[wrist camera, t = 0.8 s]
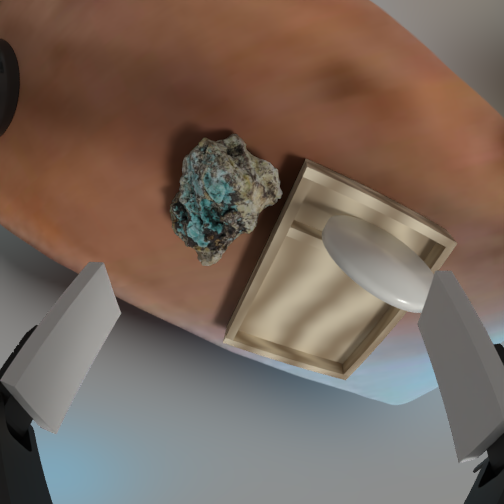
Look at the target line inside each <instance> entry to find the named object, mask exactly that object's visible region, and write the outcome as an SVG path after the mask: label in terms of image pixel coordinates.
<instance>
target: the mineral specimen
mask: <svg viewBox="0 0 504 504" xmlns="http://www.w3.org/2000/svg"><path fill="white" fill-rule="evenodd" d="M182 174H183V175H182V177H181V178H180V188H179V190H180V191H179V192H178V193H177V194H176V196H175V198H174V199H173V200H172V203H171V205H170V212H171V220H172V228H173V230H174V233H175V234H176V235H178V236H179V237H180V238H181V239H182V240H183V241H184V242H185V245H186V246H187V247H188V246H189V247H192V248H194V249H195V250H196V252H197V254H198V260H199V261H201V263H202V265H205V266H211V265H212V264H215V263H216V262H218V261H219V260H220V259H221V258H222V254H223V253H224V252H225V251H226V249H227V247H228V246H229V245H230V244H231V243H232V242H233V241H234V240H235V239H236V238H237V237H238V236H239V235H240V234H242V233H248V234H249V233H250V232H252V231H253V229H254V228H255V227H256V226H257V219H258V215H259V213H260V212H261V211H262V210H263V209H265V208H266V207H268V206H269V205H270V206H272V205H274V204H275V203H277V200H278V199H280V198H281V195H282V194H283V192H282V191H281V189H280V180H279V176H278V169H276V168H274V167H273V166H272V164H271V163H269V162H267V161H265V160H262V159H259V158H257V157H255V156H253V155H252V154H250V153H249V152H248V151H247V150H246V144H245V143H244V141H243V140H242V139H241V138H240V137H239V136H238V135H237V134H232V135H230V136H229V137H228V138H226V139H224V140H218V141H216V142H215V141H211V140H209V139H208V138H203V139H202V140H201V141H200V142H199V144H198V145H197V146H196V147H195V148H194V149H193V150H192V151H191V152H190V153H189V154H188V155H186V156H185V158H184V160H183V166H182Z"/></svg>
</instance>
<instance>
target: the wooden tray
mask: <svg viewBox="0 0 504 504" xmlns="http://www.w3.org/2000/svg"><path fill="white" fill-rule="evenodd" d="M335 215H347V216H352V217H356V218H359V219H362V220H365V221H367V222H369V223H372V224H374V225H376V226H378V227H380V228H382V229H383V230H385V231H387V232H388V233H390V234H392V235H393V236H395V237H396V238H397V239H399V240H400V241H402V242H403V243H404V244H405V245H407V246H408V247H409V248H410V249H411V250H413V251H414V252H415V253H416V254H417V255H418V256H419V257H420V258H421V259H422V260H423V261H424V262H425V264H426V265H427V266H428V267H429V268H430V270H431V271H432V273H433V274H434V273H435V271H438V270H439V269H440V267H441V266H442V265H443V263H444V262H445V260H446V259H447V257H448V256H449V255H450V253H451V252H452V250H453V249H454V247H455V246H456V244H457V242H456V241H455V240H454V239H453V237H452V236H451V235H450V234H449V232H448V231H447V230H446V229H444V228H442V227H440V226H439V225H437V224H435V223H434V222H432V221H430V220H428V219H426V218H425V217H423V216H421V215H419V214H418V213H416V212H414V211H412V210H410V209H408V208H407V207H405V206H403V205H401V204H399V203H397V202H395V201H393V200H392V199H390V198H388V197H386V196H384V195H382V194H380V193H378V192H376V191H374V190H372V189H370V188H368V187H366V186H364V185H362V184H360V183H358V182H356V181H354V180H352V179H350V178H347V177H345V176H343V175H341V174H339V173H337V172H335V171H333V170H330V169H328V168H326V167H324V166H322V165H319V164H317V163H315V162H313V161H310V160H308V159H305V161H304V164H303V166H302V168H301V170H300V172H299V174H298V177H297V179H296V181H295V183H294V185H293V187H292V189H291V192H290V194H289V196H288V198H287V200H286V202H285V205H284V207H283V209H282V211H281V213H280V215H279V217H278V220H277V222H276V224H275V226H274V228H273V230H272V232H271V234H270V237H269V239H268V241H267V243H266V245H265V247H264V249H263V251H262V254H261V256H260V258H259V260H258V262H257V264H256V266H255V268H254V271H253V273H252V275H251V277H250V279H249V281H248V283H247V285H246V288H245V290H244V292H243V294H242V296H241V298H240V300H239V302H238V304H237V306H236V309H235V311H234V313H233V315H232V317H231V319H230V321H229V323H228V325H227V328H226V332H225V336H224V340H223V343H226V344H229V345H232V346H234V347H237V348H240V349H243V350H246V351H249V352H252V353H255V354H258V355H261V356H264V357H268V358H271V359H274V360H277V361H280V362H284V363H287V364H290V365H294V366H297V367H300V368H304V369H307V370H311V371H314V372H318V373H321V374H325V375H329V376H332V377H336V378H340V379H344V380H346V379H347V378H348V377H349V376H350V375H351V374H352V373H353V372H354V371H355V370H356V369H357V368H358V367H359V366H360V365H361V364H362V363H363V362H364V361H365V359H366V358H367V357H368V356H369V355H370V354H371V353H372V352H373V351H374V350H375V348H376V347H377V346H378V345H379V344H380V343H381V342H382V341H383V339H384V338H385V337H386V336H387V335H388V334H389V333H390V331H391V330H392V329H393V328H394V327H395V325H396V324H397V323H398V322H399V321H400V320H401V318H402V317H403V316H404V315H405V313H406V312H407V311H405V310H402V309H399V308H396V307H394V306H392V305H389V304H388V303H386V302H384V301H382V300H380V299H378V298H377V297H375V296H374V295H372V294H371V293H369V292H368V291H366V290H365V289H363V288H362V287H361V286H360V285H358V284H357V283H356V282H354V281H353V280H352V279H351V278H350V277H349V276H348V275H347V274H346V273H345V272H344V271H343V270H342V269H341V268H340V267H339V266H338V265H337V264H336V263H335V262H334V260H333V259H332V258H331V256H330V255H329V253H328V252H327V250H326V248H325V246H324V244H323V240H322V231H323V229H324V227H325V225H326V223H327V221H328V220H329V218H331V217H332V216H335Z"/></svg>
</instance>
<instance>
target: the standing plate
mask: <svg viewBox="0 0 504 504" xmlns="http://www.w3.org/2000/svg"><path fill="white" fill-rule="evenodd" d="M322 240H323V244H324V246H325V248H326V250H327V252H328V253H329V255H330V256H331V258H332V259H333V260H334V262H335V263H336V264H337V265H338V266H339V267H340V268H341V269H342V270H343V271H344V272H345V273H346V274H347V275H348V276H349V277H350V278H351V279H352V280H353V281H354V282H356V283H357V284H358V285H360V286H361V287H362V288H363V289H365V290H366V291H368V292H369V293H371V294H372V295H374V296H375V297H377V298H378V299H380V300H382V301H384V302H386V303H388V304H389V305H392V306H394V307H396V308H399V309H402V310H405V311H409V312H415V313H422V310H423V307H424V304H425V301H426V298H427V295H428V292H429V289H430V286H431V283H432V280H433V277H434V274H433V273H432V271H431V270H430V268H429V267H428V266H427V265H426V264H425V262H424V261H423V260H422V259H421V258H420V257H419V256H418V255H417V254H416V253H415V252H414V251H413V250H411V249H410V248H409V247H408V246H407V245H405V244H404V243H403V242H402V241H400V240H399V239H397V238H396V237H395V236H393V235H392V234H390V233H388V232H387V231H385V230H383V229H382V228H380V227H378V226H376V225H374V224H372V223H369V222H367V221H365V220H362V219H359V218H356V217H352V216H347V215H335V216H332V217H331V218H329V220H328V221H327V223H326V225H325V227H324V229H323V231H322Z"/></svg>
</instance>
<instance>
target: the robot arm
mask: <svg viewBox="0 0 504 504" xmlns="http://www.w3.org/2000/svg"><path fill="white" fill-rule="evenodd" d="M18 95H19V68H18V63H17V59H16V56H15V53H14V51H13V49H12V48H11V46H10V45H9V44H8V43H7V42H6V41H4V40H3V39H0V136H1V135H2V134H3V133H4V132H5V131H6V129H7V128H8V126H9V125H10V123H11V121H12V118H13V116H14V113H15V110H16V106H17V101H18ZM120 314H121V312H120V309H119V306H118V304H117V301H116V298H115V295H114V292H113V289H112V286H111V283H110V280H109V277H108V274H107V271H106V268H105V265H104V263H102V262H89V263H88V264H87V265H86V266H85V268H84V269H83V270H82V271H81V272H80V274H79V275H78V276H77V277H76V278H75V280H74V281H73V282H72V283H71V284H70V286H69V287H68V288H67V289H66V290H65V292H64V293H63V294H62V295H61V297H60V298H59V299H58V300H57V302H56V303H55V304H54V306H53V307H52V308H51V309H50V311H49V312H48V313H47V314H46V316H45V317H44V318H43V320H42V321H41V322H40V324H39V325H36V326H34V327H33V328H32V329H31V330H30V331H29V332H27V333H26V334H25V335H24V337H23V338H22V340H21V341H20V342H19V345H17V346H16V348H15V349H14V352H12V353H11V355H10V356H9V358H8V359H7V361H6V362H5V364H4V365H3V367H2V368H1V369H0V504H53V503H52V500H51V497H50V494H49V490H48V487H47V484H46V480H45V476H44V473H43V469H42V465H41V461H40V457H39V452H38V448H37V443H36V438H35V433H34V430H33V427H32V426H31V425H30V424H31V422H32V420H34V421H35V422H36V423H37V424H38V425H39V426H40V427H41V428H43V429H45V430H47V431H50V432H52V433H54V434H57V432H58V430H59V427H60V425H61V423H62V421H63V419H64V417H65V415H66V413H67V411H68V409H69V407H70V405H71V403H72V401H73V399H74V397H75V395H76V393H77V392H78V390H79V388H80V386H81V384H82V382H83V380H84V378H85V376H86V374H87V373H88V371H89V369H90V367H91V365H92V363H93V361H94V360H95V358H96V356H97V354H98V352H99V351H100V349H101V347H102V345H103V343H104V342H105V340H106V338H107V336H108V335H109V333H110V331H111V329H112V328H113V326H114V324H115V323H116V321H117V319H118V317H119V316H120ZM418 327H419V330H420V332H421V335H422V338H423V340H424V343H425V346H426V349H427V352H428V355H429V358H430V361H431V363H432V367H433V370H434V373H435V376H436V379H437V382H438V385H439V389H440V392H441V395H442V398H443V402H444V405H445V409H446V413H447V416H448V420H449V424H450V428H451V432H452V436H453V440H454V444H455V449H456V453H457V457H458V462H459V463H462V462H465V461H469V460H472V459H476V458H478V457H479V456H480V455H481V454H483V453H484V452H485V451H486V450H487V453H488V457H487V458H486V459H485V460H484V461H483V462H481V463H480V464H479V465H478V466H477V467H476V468H475V469H474V471H473V472H474V473H475V472H477V471H478V470H479V469H481V470H480V472H479V474H478V476H477V479H476V481H475V483H474V485H473V487H472V489H471V491H470V493H469V495H468V497H467V499H466V500H465V502H464V504H504V347H503V346H502V345H501V344H493V343H492V341H491V339H490V337H489V335H488V333H487V331H486V329H485V328H484V326H483V324H482V322H481V320H480V318H479V317H478V315H477V313H476V311H475V309H474V308H473V306H472V304H471V302H470V301H469V299H468V297H467V296H466V294H465V292H464V291H463V289H462V287H461V286H460V284H459V282H458V281H457V279H456V278H455V276H454V274H453V273H452V271H435V273H434V277H433V280H432V283H431V286H430V289H429V292H428V295H427V298H426V301H425V304H424V307H423V310H422V313H421V316H420V318H419V321H418Z"/></svg>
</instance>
